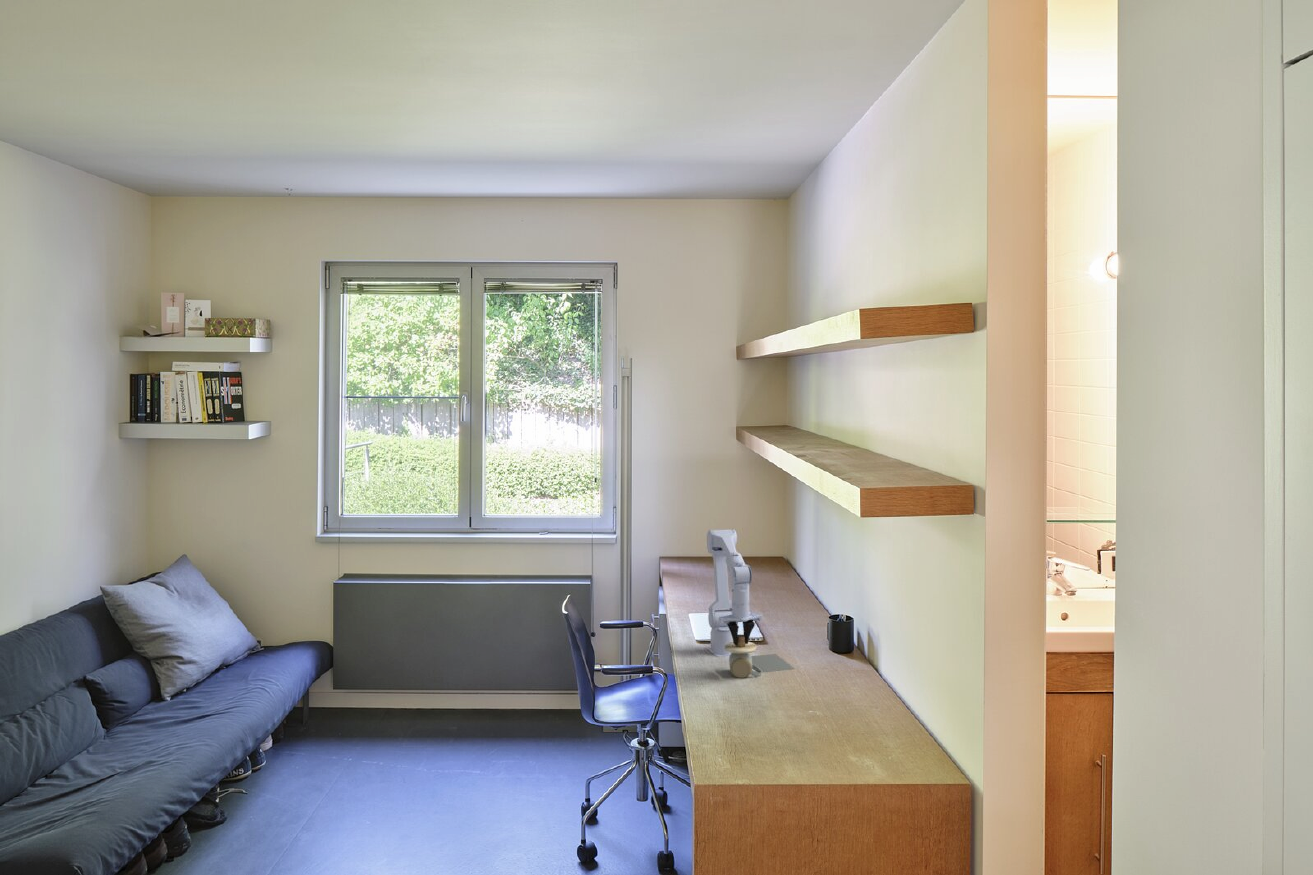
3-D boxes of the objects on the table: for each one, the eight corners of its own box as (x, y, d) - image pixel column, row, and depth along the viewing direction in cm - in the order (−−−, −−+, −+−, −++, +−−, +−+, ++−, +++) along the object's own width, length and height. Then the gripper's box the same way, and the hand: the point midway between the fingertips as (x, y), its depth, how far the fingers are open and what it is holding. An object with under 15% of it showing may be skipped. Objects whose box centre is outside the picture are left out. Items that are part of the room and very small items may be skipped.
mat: (743, 658, 285) (743, 656, 285) (775, 654, 288) (775, 653, 288) (761, 673, 270) (761, 672, 270) (794, 670, 273) (794, 668, 273)
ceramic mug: (729, 679, 265) (730, 656, 264) (728, 670, 273) (729, 648, 272) (762, 680, 264) (763, 657, 264) (760, 671, 272) (761, 649, 272)
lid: (720, 645, 272) (720, 633, 272) (749, 642, 275) (749, 629, 275) (731, 655, 262) (731, 642, 262) (761, 651, 265) (761, 638, 265)
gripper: (723, 607, 262) (723, 649, 263) (765, 604, 266) (765, 645, 266) (716, 602, 269) (716, 642, 269) (757, 598, 272) (757, 638, 273)
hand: (740, 643), depth 268 cm, fingers closed on lid, 3 cm apart
